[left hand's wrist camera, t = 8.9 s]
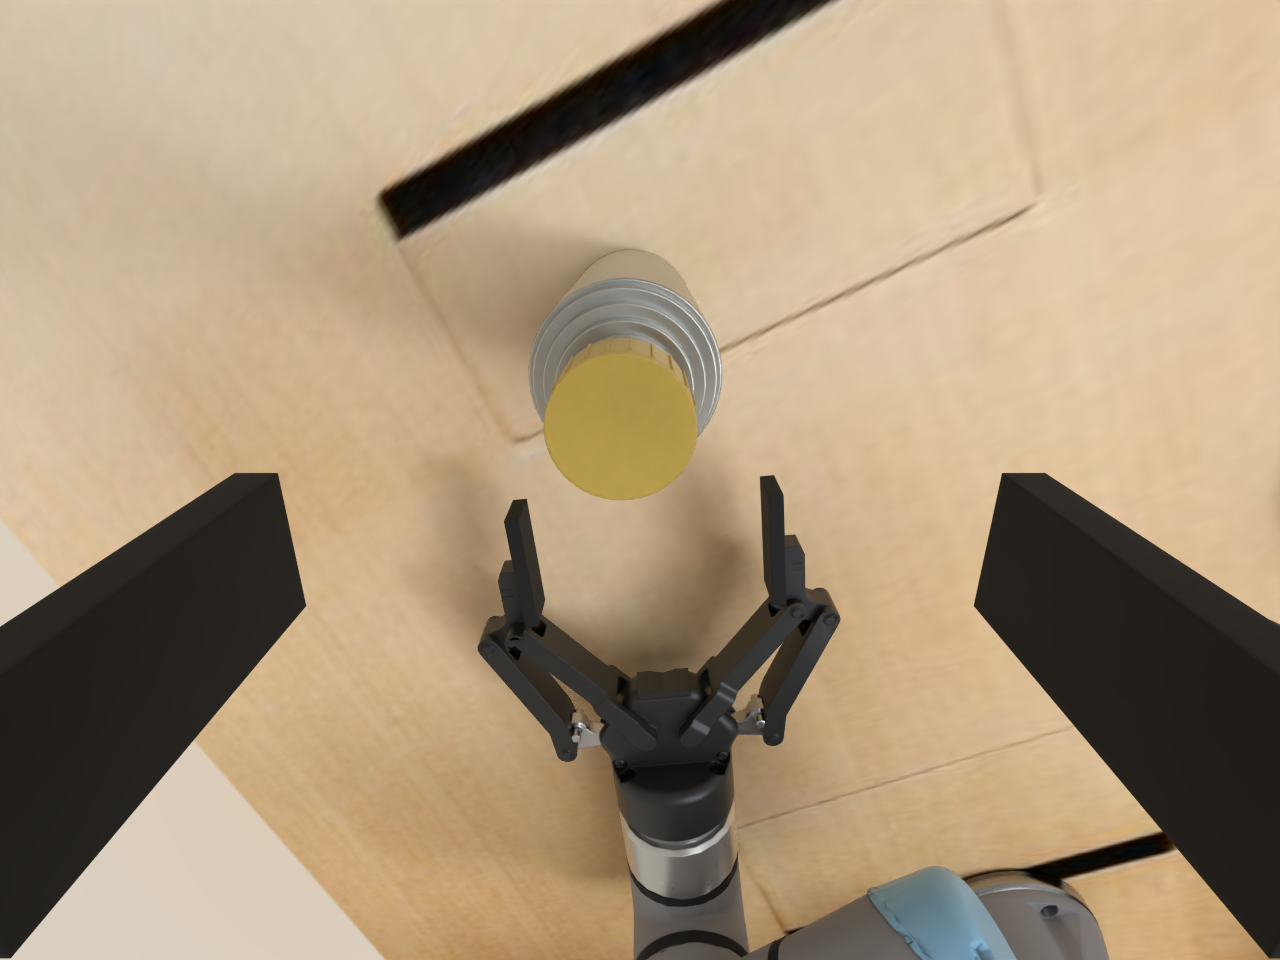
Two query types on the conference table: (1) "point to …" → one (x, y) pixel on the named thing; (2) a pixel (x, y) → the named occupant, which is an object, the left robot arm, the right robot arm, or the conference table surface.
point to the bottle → (629, 325)
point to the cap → (621, 419)
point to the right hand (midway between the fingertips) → (642, 496)
